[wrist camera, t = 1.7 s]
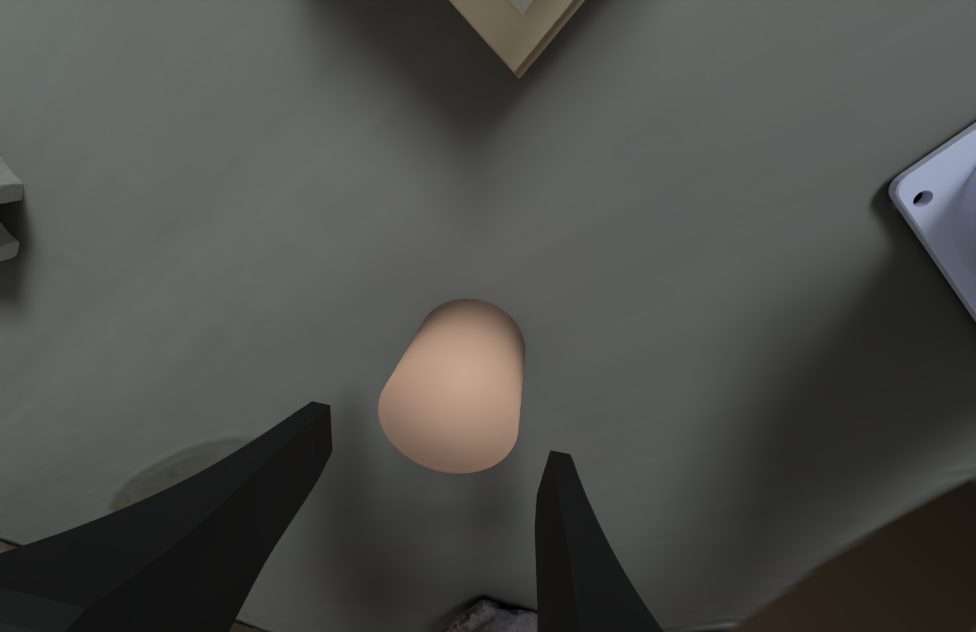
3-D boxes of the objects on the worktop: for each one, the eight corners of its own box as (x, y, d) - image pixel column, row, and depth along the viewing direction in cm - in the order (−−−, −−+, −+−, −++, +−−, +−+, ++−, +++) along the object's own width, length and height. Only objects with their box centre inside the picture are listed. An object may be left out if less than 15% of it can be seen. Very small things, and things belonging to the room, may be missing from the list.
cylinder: (548, 351, 18) (549, 429, 13) (474, 408, 20) (454, 492, 15) (466, 276, 17) (438, 334, 12) (397, 345, 19) (351, 415, 14)
